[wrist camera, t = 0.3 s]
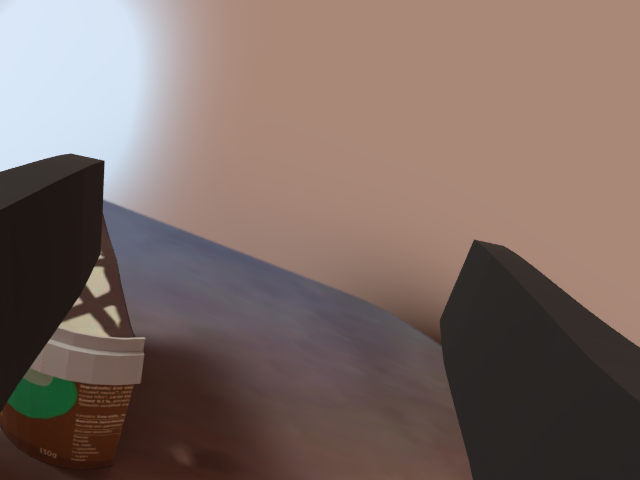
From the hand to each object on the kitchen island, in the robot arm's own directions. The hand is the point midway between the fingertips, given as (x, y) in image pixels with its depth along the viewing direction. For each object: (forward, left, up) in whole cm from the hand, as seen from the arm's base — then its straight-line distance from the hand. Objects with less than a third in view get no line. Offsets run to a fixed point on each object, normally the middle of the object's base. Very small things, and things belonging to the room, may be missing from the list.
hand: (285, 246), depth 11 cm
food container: (+11, +8, -21) cm, 25 cm away
